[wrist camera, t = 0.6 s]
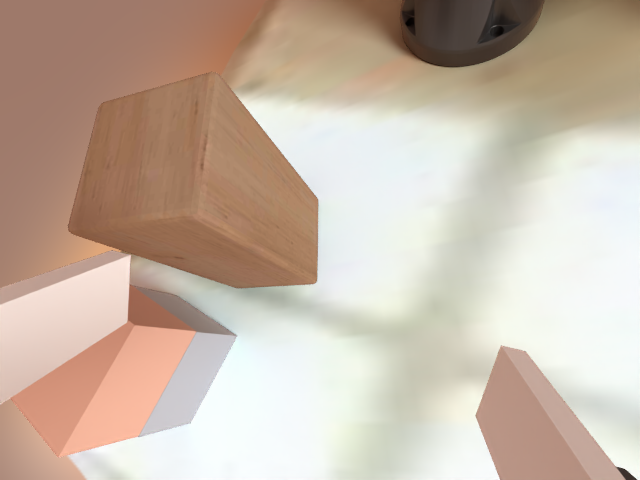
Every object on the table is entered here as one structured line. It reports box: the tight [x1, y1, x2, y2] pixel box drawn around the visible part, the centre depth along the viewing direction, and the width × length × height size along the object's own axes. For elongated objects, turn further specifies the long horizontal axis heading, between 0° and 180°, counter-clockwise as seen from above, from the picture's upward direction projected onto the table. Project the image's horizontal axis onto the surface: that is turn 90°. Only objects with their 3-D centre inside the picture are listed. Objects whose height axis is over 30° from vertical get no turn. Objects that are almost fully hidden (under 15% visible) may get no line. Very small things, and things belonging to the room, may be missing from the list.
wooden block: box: [68, 72, 318, 288], centre depth 30 cm, size 10×10×20 cm
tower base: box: [133, 286, 237, 437], centre depth 36 cm, size 10×10×7 cm
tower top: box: [11, 285, 197, 457], centre depth 30 cm, size 10×10×7 cm
